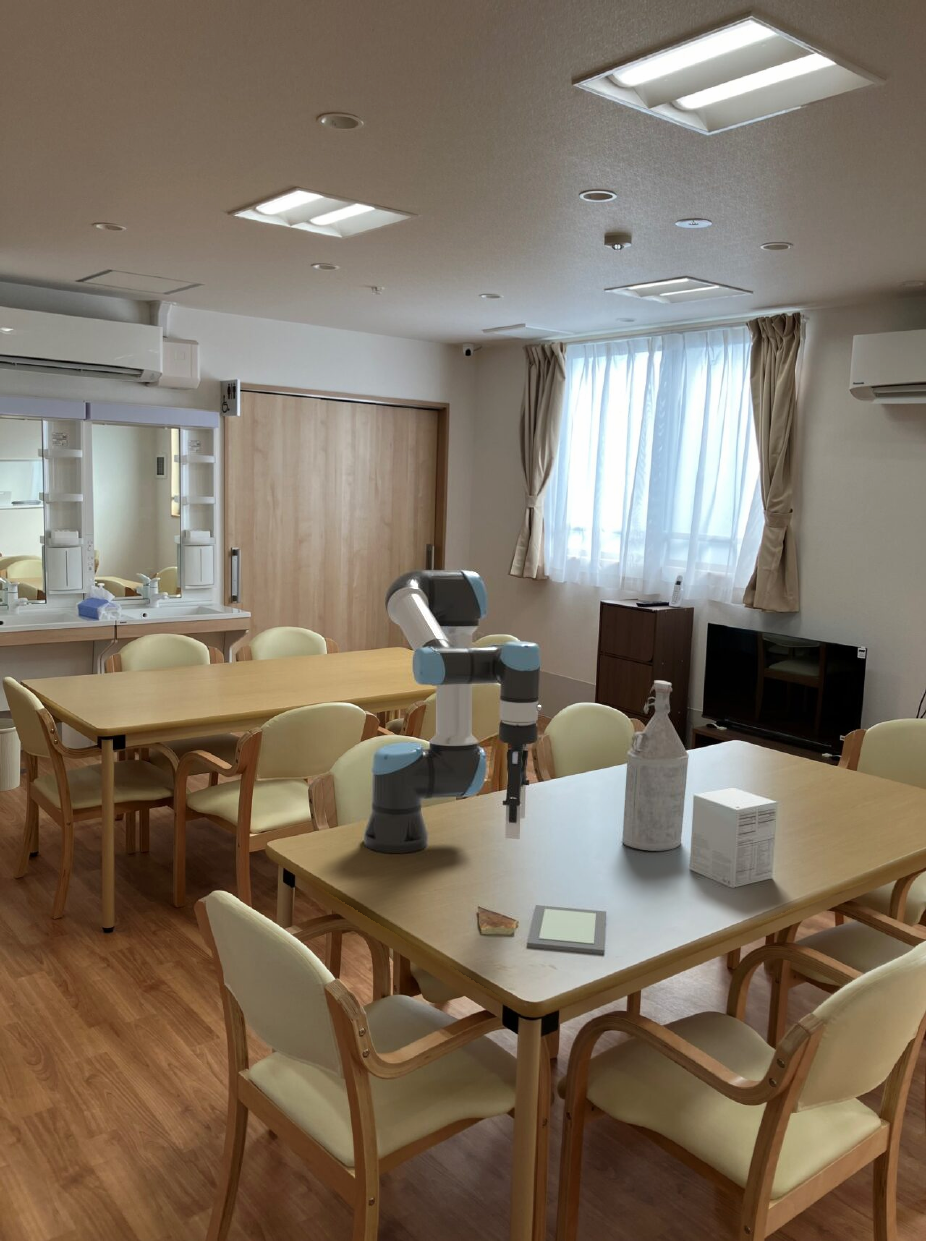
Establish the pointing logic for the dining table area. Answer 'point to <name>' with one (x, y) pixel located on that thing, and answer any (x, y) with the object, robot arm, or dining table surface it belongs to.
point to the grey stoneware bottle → (655, 781)
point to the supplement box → (733, 836)
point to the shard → (495, 922)
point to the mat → (568, 929)
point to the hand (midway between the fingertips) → (515, 827)
